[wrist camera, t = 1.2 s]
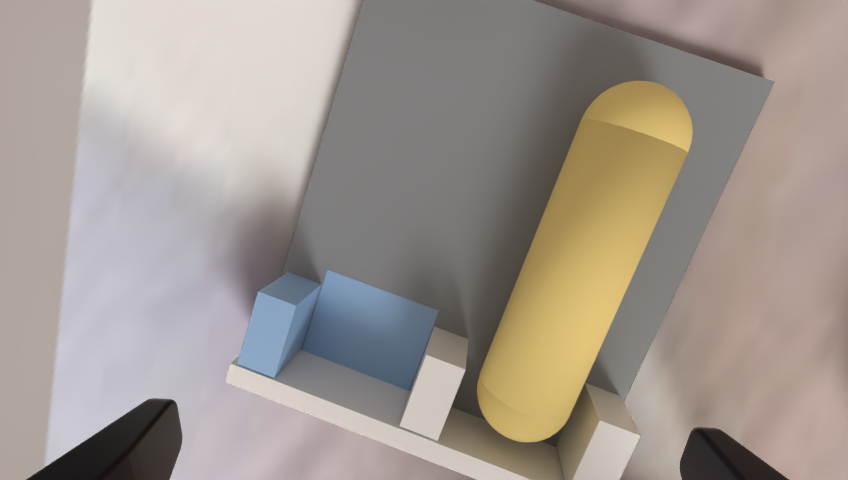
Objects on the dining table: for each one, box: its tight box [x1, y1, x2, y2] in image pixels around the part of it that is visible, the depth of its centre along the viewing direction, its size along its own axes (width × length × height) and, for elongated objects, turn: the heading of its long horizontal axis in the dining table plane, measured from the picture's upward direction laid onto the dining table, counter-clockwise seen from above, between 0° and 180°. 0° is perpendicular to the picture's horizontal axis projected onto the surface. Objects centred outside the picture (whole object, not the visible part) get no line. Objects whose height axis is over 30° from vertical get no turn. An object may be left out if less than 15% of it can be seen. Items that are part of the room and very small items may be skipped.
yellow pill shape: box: [477, 81, 693, 442], centre depth 19 cm, size 14×4×4 cm, turn 161°
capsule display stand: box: [225, 0, 774, 480], centre depth 20 cm, size 15×17×4 cm
